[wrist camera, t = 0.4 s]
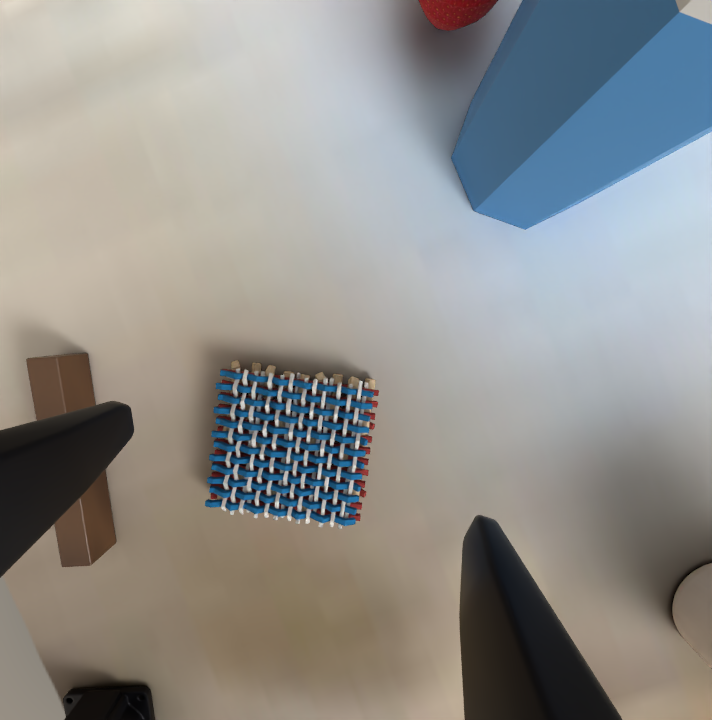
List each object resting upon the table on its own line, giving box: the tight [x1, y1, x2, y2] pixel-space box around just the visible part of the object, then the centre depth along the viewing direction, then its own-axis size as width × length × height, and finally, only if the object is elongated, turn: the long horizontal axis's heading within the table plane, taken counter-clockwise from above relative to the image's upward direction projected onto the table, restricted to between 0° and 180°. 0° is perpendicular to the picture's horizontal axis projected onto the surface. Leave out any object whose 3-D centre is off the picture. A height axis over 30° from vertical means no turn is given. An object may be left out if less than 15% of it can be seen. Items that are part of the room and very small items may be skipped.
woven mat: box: [205, 360, 379, 529], centre depth 23 cm, size 10×11×2 cm
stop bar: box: [26, 353, 116, 567], centre depth 23 cm, size 14×2×2 cm, turn 3°
